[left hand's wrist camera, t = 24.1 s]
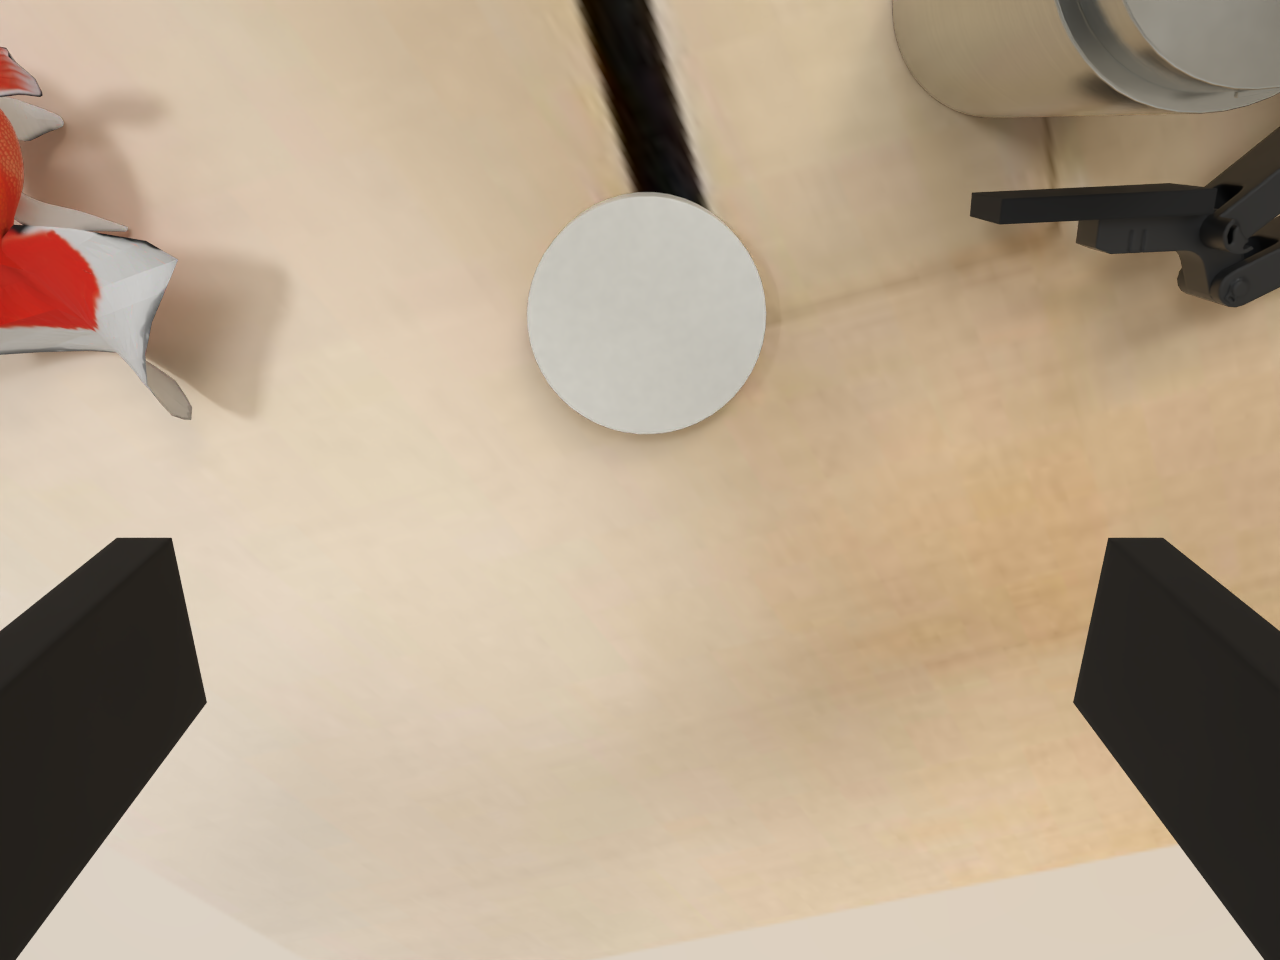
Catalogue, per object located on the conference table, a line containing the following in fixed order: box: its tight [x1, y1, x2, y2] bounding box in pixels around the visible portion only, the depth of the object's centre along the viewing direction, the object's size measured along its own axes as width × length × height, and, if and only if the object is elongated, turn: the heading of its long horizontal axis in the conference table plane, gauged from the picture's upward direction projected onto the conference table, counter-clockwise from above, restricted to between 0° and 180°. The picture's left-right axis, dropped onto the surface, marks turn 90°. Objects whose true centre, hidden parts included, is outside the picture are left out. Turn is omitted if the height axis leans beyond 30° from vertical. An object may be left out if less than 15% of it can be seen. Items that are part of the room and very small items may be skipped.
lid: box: [527, 192, 766, 434], centre depth 35 cm, size 9×9×2 cm
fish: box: [0, 47, 192, 420], centre depth 31 cm, size 11×16×10 cm
